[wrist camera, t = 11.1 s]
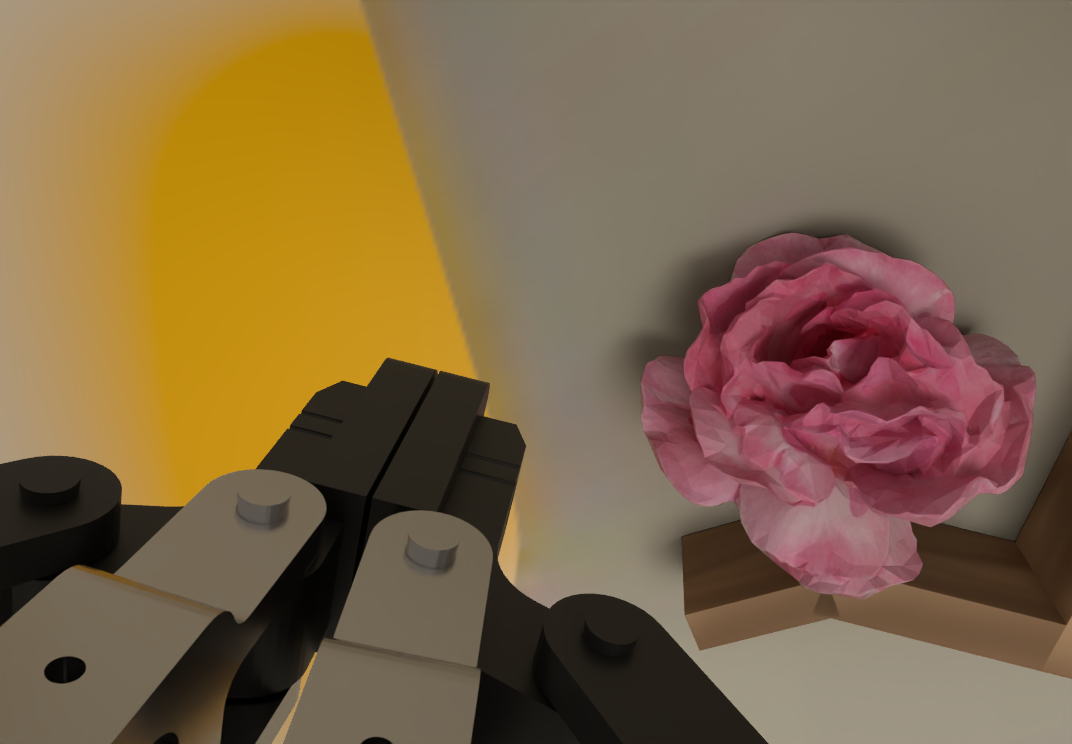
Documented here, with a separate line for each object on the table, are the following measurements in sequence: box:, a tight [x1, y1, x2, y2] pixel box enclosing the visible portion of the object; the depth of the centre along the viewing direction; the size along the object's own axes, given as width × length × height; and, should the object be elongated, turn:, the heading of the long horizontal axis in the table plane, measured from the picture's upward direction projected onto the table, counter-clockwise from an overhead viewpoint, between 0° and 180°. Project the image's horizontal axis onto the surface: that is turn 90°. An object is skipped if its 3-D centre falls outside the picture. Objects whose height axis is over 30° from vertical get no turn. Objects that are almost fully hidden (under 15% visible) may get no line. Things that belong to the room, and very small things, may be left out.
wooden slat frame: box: [682, 432, 1072, 679], centre depth 30 cm, size 29×14×5 cm, turn 168°
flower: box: [641, 233, 1036, 600], centre depth 31 cm, size 11×10×10 cm
